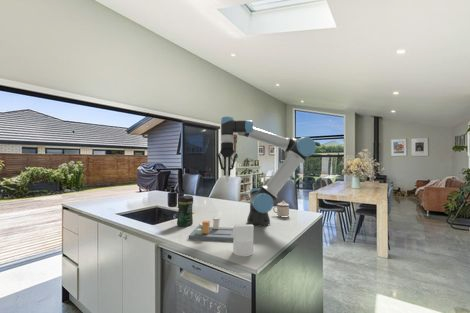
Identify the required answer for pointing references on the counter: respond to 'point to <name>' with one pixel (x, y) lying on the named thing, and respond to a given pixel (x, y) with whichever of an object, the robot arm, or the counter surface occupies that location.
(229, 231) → the panel
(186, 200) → the coffee jar
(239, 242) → the cylinder with rectangular tab
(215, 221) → the slider
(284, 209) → the teacup with lid
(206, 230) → the slider
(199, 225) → the light grey flat piece
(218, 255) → the counter surface
